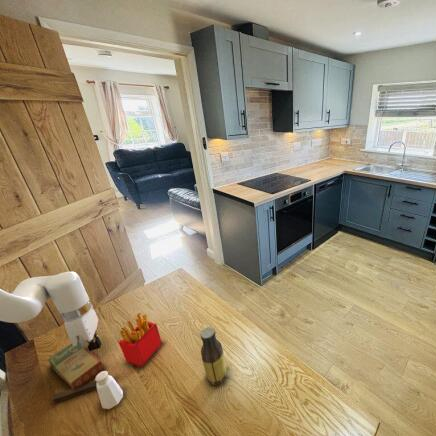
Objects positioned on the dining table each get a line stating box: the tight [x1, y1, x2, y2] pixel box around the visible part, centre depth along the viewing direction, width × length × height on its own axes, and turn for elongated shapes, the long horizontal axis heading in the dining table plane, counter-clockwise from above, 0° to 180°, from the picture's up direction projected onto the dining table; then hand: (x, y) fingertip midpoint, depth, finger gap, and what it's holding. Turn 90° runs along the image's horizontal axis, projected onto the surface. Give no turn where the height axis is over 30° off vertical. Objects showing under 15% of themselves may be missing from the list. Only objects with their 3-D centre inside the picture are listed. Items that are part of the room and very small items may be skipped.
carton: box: [47, 341, 105, 389], centre depth 77 cm, size 8×16×4 cm, turn 61°
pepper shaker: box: [94, 370, 124, 410], centre depth 67 cm, size 5×5×11 cm
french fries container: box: [118, 312, 163, 368], centre depth 80 cm, size 7×9×14 cm
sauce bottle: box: [199, 326, 228, 386], centre depth 72 cm, size 6×6×20 cm
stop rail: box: [52, 375, 114, 404], centre depth 71 cm, size 14×2×2 cm, turn 114°
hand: (95, 347), depth 83 cm, fingers closed
